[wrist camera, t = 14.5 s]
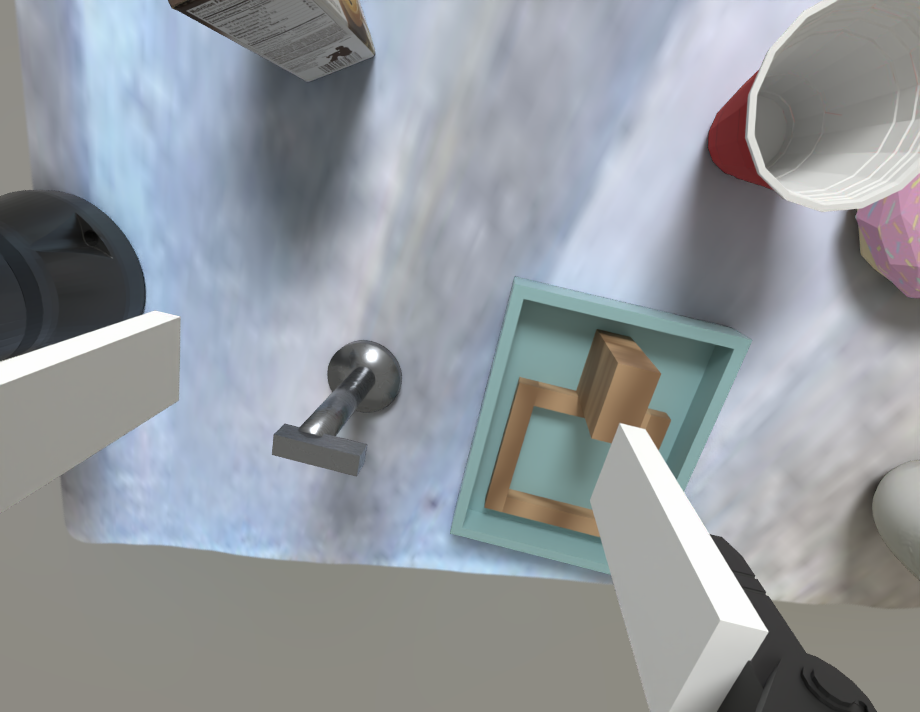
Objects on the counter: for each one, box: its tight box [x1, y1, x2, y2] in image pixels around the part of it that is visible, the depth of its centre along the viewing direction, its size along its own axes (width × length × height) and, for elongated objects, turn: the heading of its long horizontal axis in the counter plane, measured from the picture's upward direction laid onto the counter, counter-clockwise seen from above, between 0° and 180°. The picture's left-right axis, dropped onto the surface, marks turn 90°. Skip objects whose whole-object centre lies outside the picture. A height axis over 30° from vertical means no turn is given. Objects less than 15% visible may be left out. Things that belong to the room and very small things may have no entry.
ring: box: [484, 329, 671, 537], centre depth 39 cm, size 14×20×9 cm
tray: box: [450, 277, 752, 575], centre depth 43 cm, size 19×25×4 cm
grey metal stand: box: [272, 340, 402, 476], centre depth 38 cm, size 8×7×15 cm
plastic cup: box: [708, 0, 920, 212], centre depth 30 cm, size 11×11×12 cm
